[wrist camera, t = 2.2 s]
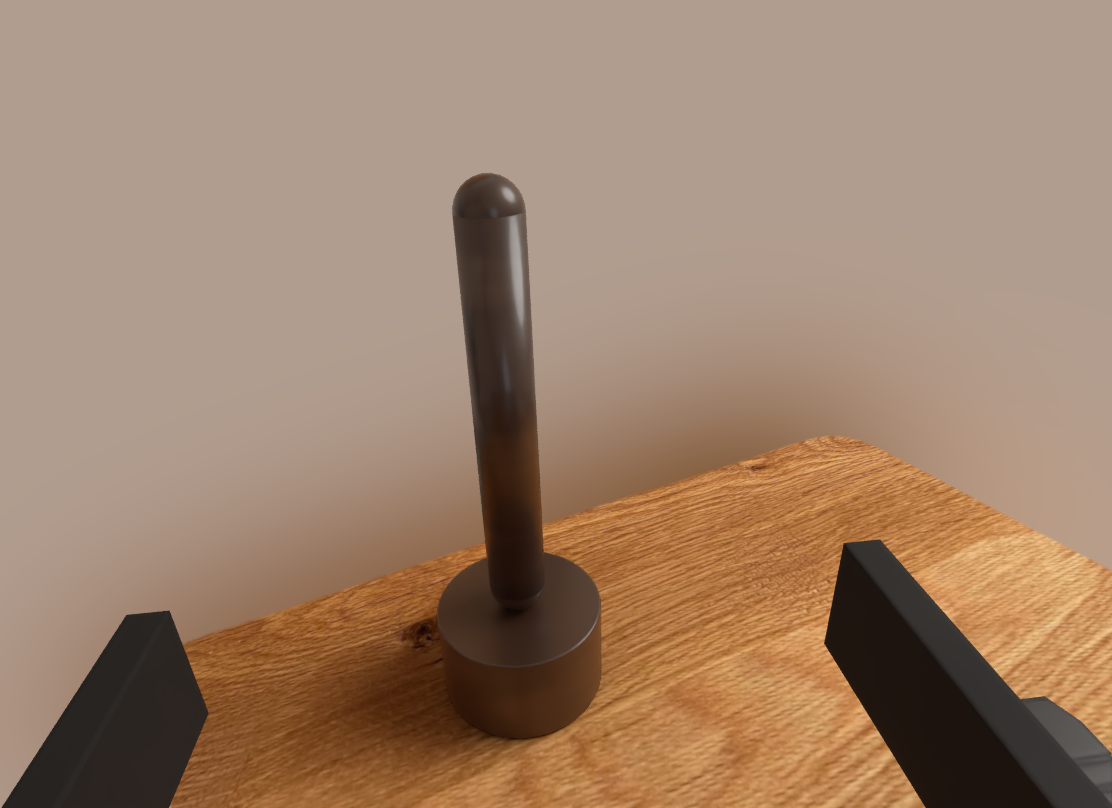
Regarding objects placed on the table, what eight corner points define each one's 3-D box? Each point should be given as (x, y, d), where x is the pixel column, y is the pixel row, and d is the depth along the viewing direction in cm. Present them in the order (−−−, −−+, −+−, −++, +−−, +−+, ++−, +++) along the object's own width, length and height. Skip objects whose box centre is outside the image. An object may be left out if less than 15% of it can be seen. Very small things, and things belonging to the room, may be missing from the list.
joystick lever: (422, 724, 24) (326, 191, 16) (475, 606, 29) (425, 160, 21) (586, 753, 23) (574, 191, 15) (611, 625, 28) (613, 159, 20)
